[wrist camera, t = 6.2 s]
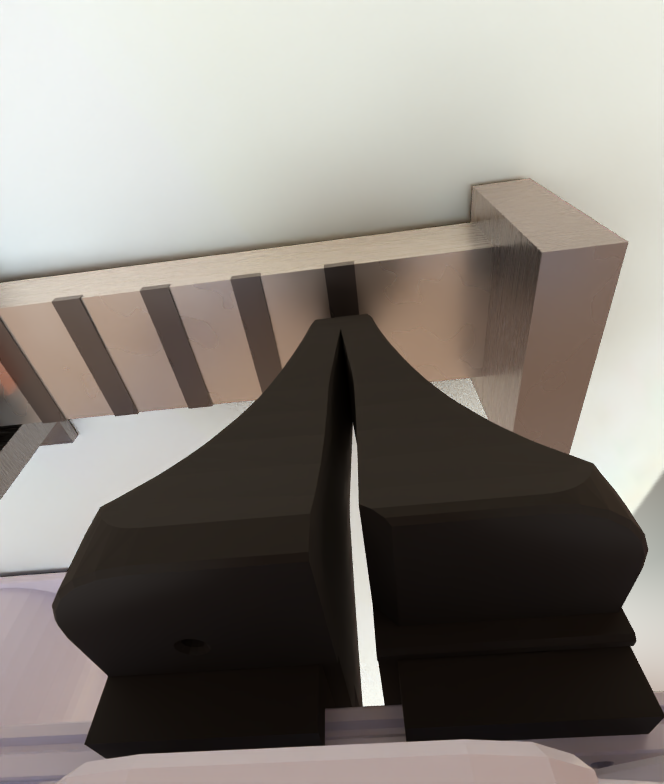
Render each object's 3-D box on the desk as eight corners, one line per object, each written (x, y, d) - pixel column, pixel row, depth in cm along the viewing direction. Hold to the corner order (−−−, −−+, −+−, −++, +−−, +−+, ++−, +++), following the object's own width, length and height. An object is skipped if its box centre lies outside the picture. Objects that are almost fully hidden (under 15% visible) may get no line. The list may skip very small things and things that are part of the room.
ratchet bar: (506, 353, 14) (567, 459, 11) (-59, 413, 16) (-177, 525, 12) (530, 178, 11) (628, 241, 7) (-181, 273, 12) (-391, 366, 9)
